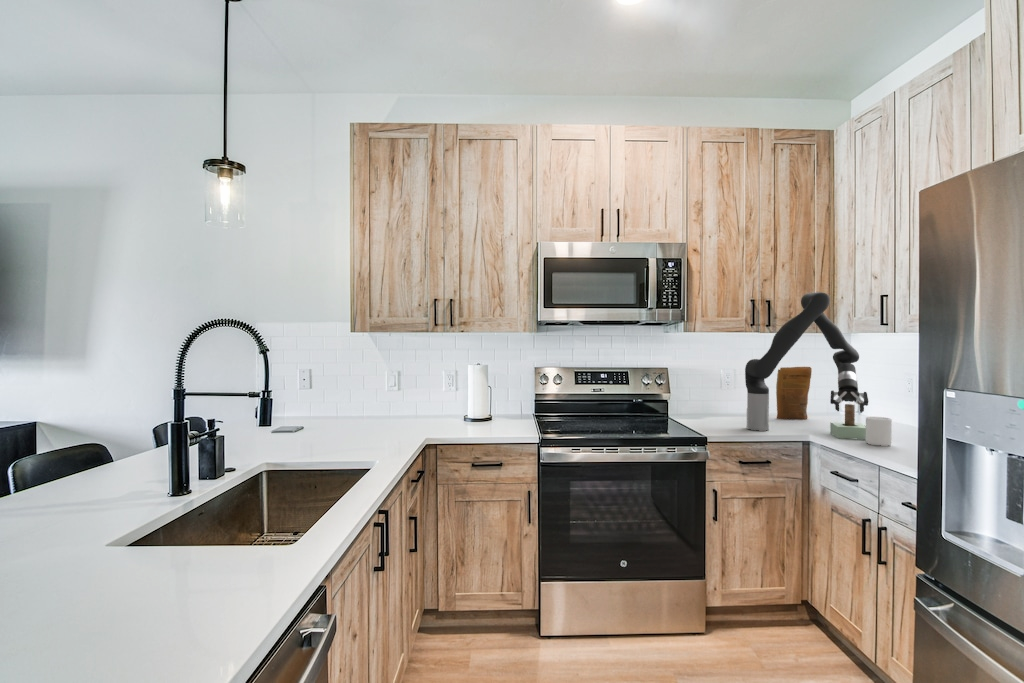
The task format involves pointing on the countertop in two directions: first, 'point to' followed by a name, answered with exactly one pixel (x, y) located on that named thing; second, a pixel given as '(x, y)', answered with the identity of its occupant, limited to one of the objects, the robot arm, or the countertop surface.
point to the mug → (878, 431)
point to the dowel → (849, 415)
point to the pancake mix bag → (792, 392)
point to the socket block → (848, 430)
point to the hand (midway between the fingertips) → (849, 411)
